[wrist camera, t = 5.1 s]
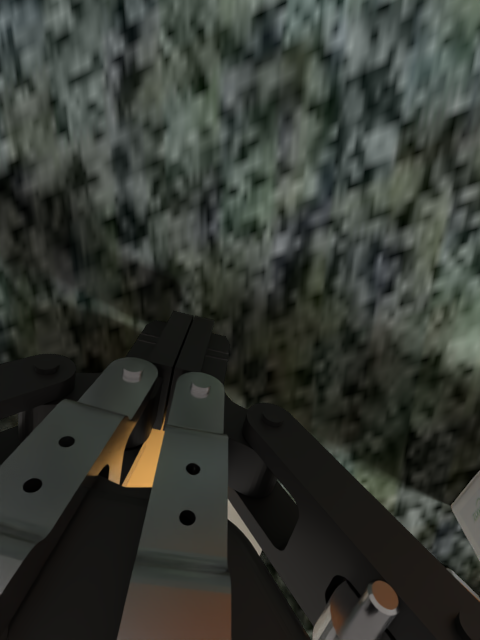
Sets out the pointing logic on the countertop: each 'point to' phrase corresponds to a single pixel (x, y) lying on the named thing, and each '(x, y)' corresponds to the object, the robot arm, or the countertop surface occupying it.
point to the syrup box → (470, 512)
